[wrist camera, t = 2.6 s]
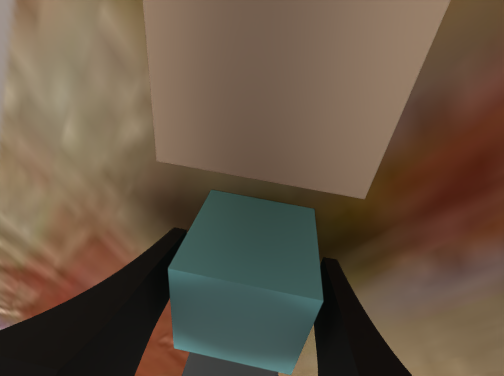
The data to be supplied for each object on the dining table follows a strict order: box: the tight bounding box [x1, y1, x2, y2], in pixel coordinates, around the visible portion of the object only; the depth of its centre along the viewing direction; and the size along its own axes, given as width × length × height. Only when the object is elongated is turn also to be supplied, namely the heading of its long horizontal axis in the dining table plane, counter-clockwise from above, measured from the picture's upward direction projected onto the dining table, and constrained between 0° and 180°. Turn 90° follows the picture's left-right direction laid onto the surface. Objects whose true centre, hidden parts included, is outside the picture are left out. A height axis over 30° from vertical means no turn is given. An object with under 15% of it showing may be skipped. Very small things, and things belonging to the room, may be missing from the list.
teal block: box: [168, 190, 323, 375], centre depth 12 cm, size 5×5×5 cm
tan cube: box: [143, 0, 450, 199], centre depth 7 cm, size 5×5×5 cm
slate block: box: [182, 352, 278, 376], centre depth 16 cm, size 5×5×5 cm
